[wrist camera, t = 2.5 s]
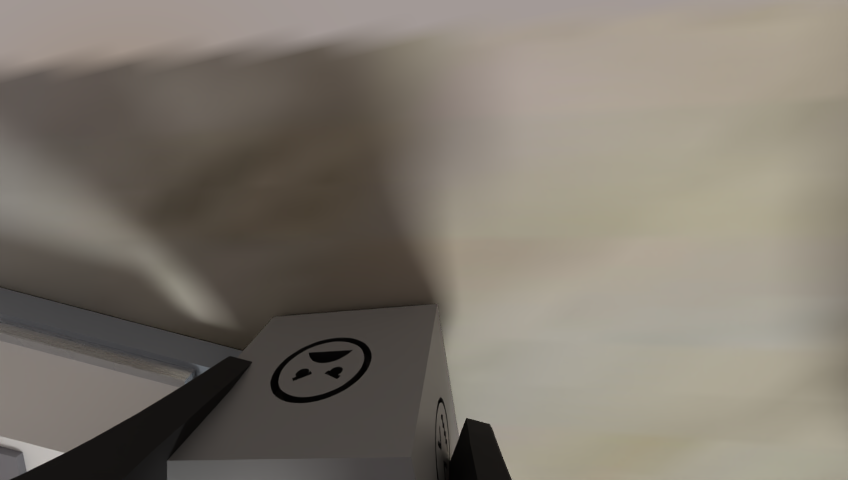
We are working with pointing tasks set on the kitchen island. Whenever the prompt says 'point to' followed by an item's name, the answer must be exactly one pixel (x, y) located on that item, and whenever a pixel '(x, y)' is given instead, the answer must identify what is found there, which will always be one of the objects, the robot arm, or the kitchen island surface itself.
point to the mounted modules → (61, 405)
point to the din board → (105, 340)
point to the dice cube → (333, 403)
